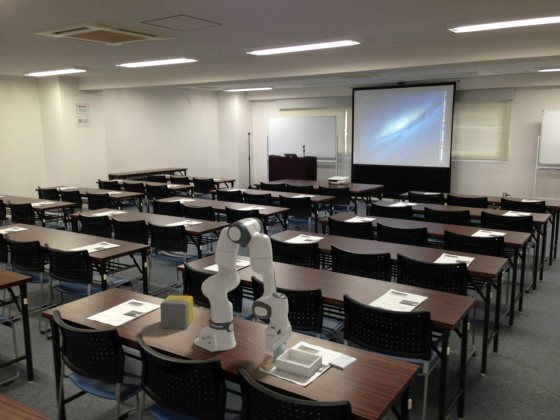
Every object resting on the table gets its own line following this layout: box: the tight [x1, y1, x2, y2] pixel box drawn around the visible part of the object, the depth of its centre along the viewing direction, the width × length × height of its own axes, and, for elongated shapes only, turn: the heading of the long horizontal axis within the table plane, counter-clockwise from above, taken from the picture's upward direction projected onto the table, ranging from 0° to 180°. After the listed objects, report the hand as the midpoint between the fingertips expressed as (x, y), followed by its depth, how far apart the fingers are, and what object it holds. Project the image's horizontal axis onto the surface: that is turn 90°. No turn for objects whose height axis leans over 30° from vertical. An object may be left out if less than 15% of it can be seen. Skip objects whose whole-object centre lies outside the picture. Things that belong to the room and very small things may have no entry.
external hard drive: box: [328, 353, 357, 371], centre depth 225 cm, size 2×8×12 cm
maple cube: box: [259, 353, 275, 371], centre depth 219 cm, size 5×5×5 cm
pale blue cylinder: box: [273, 343, 285, 360], centre depth 229 cm, size 5×5×7 cm
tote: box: [275, 347, 323, 379], centre depth 219 cm, size 18×14×5 cm
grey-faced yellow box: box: [159, 294, 195, 330], centre depth 275 cm, size 15×24×15 cm, turn 174°
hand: (279, 352), depth 229 cm, fingers open, 6 cm apart
